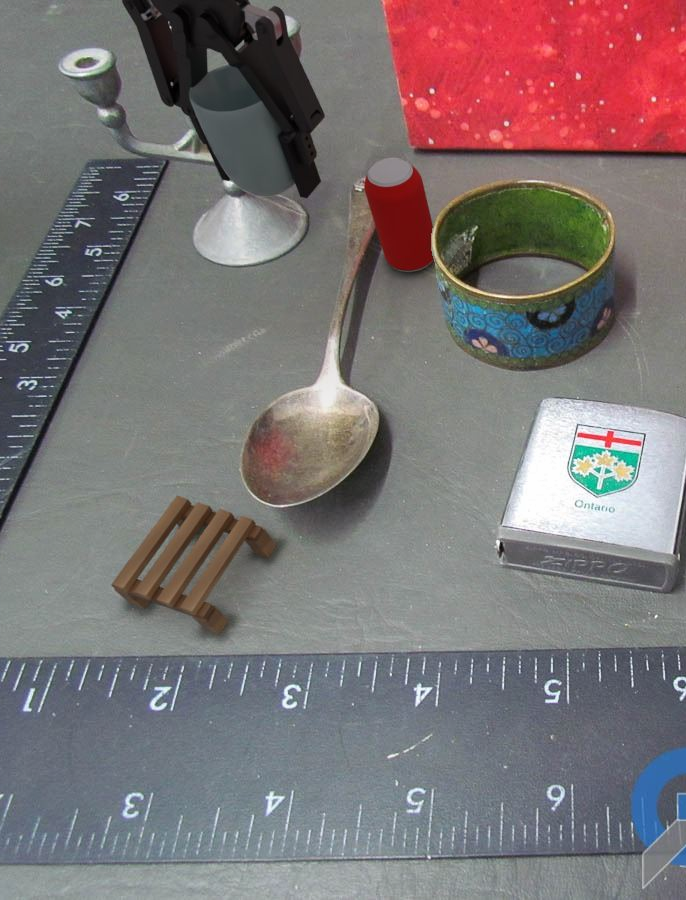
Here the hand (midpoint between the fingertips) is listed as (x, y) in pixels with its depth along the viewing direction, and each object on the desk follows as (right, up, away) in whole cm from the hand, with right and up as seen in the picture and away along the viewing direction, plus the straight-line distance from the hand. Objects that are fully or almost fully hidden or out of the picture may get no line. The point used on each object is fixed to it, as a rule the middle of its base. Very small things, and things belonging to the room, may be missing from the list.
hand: (271, 180), depth 80 cm
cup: (0, 0, 0) cm, 0 cm away
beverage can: (+10, -4, +16) cm, 19 cm away
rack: (-3, -37, -7) cm, 38 cm away
